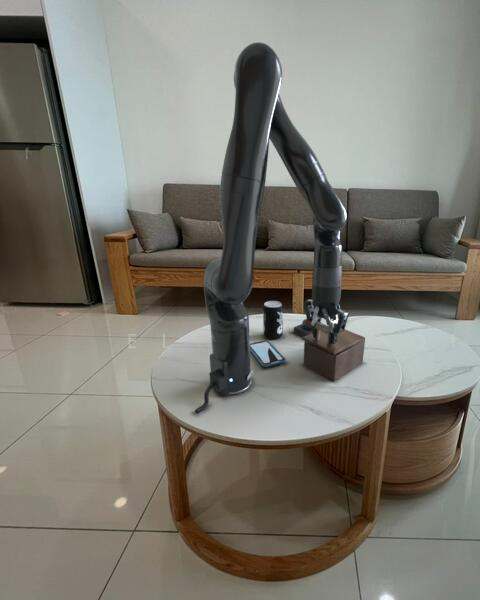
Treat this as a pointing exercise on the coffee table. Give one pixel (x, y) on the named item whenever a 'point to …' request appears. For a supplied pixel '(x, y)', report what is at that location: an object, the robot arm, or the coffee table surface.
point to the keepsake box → (333, 360)
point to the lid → (343, 339)
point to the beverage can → (273, 320)
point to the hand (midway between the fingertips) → (324, 340)
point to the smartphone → (266, 353)
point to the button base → (304, 329)
